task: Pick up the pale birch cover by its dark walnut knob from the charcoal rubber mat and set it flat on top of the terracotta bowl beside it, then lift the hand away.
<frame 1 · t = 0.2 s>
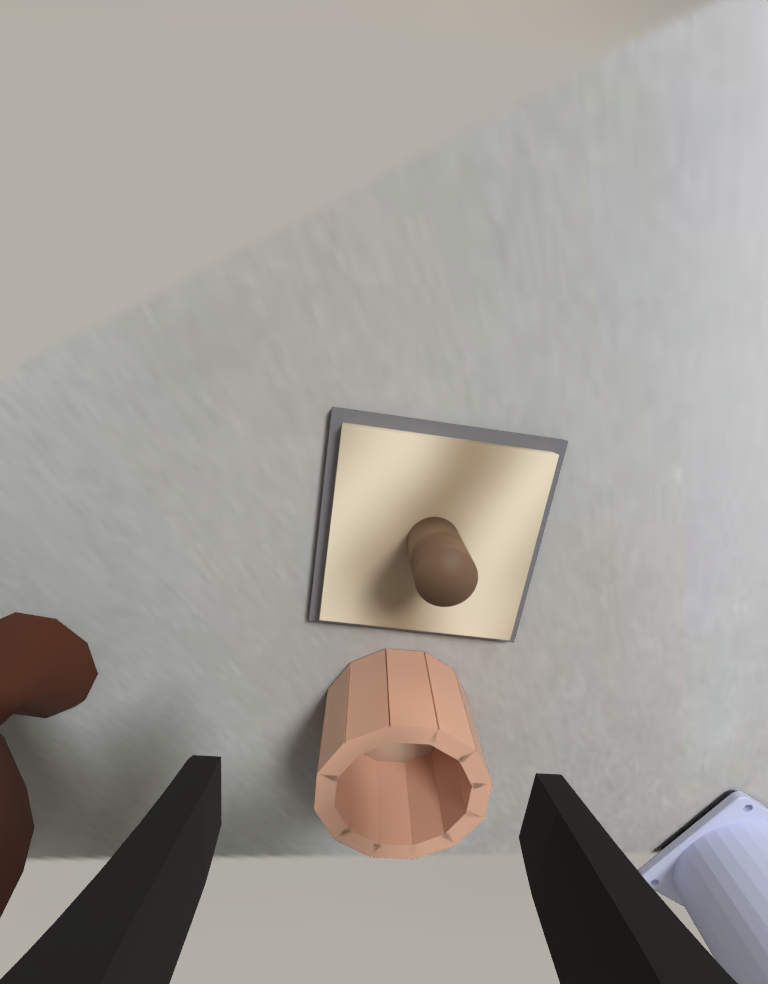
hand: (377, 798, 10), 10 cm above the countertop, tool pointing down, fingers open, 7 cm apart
ice cream bowl: (39, 661, 20), on the countertop
cover: (431, 536, 18), resting on mat
bowl: (396, 709, 21), on the countertop
mat: (429, 532, 19), on the countertop
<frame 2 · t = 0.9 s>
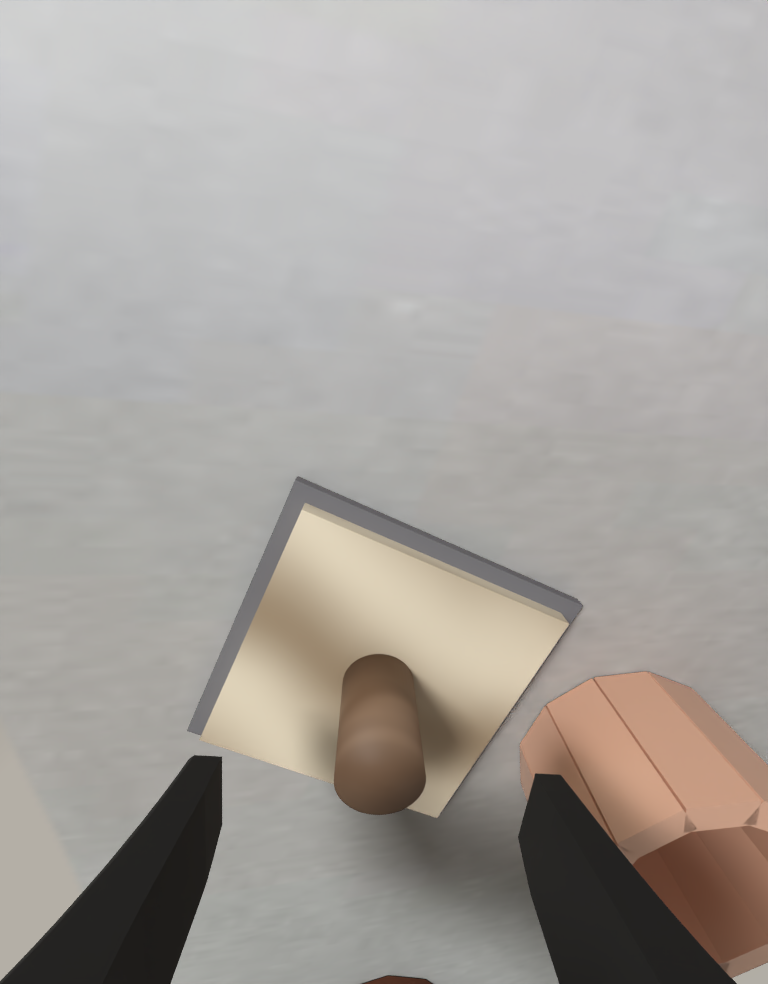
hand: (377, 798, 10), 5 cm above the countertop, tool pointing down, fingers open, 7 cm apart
cover: (377, 670, 14), resting on mat
bowl: (615, 753, 16), on the countertop
mat: (377, 662, 14), on the countertop
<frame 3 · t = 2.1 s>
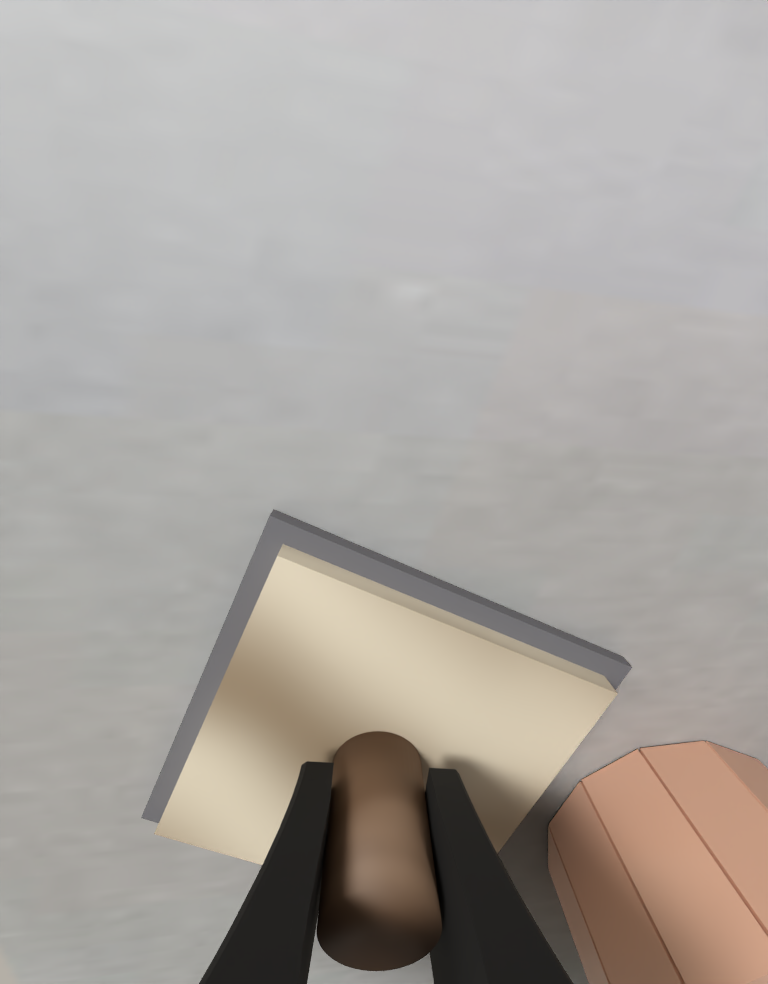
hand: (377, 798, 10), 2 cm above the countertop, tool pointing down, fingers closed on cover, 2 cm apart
cover: (376, 745, 11), resting on mat, touching gripper
bowl: (662, 834, 13), on the countertop
mat: (376, 733, 12), on the countertop
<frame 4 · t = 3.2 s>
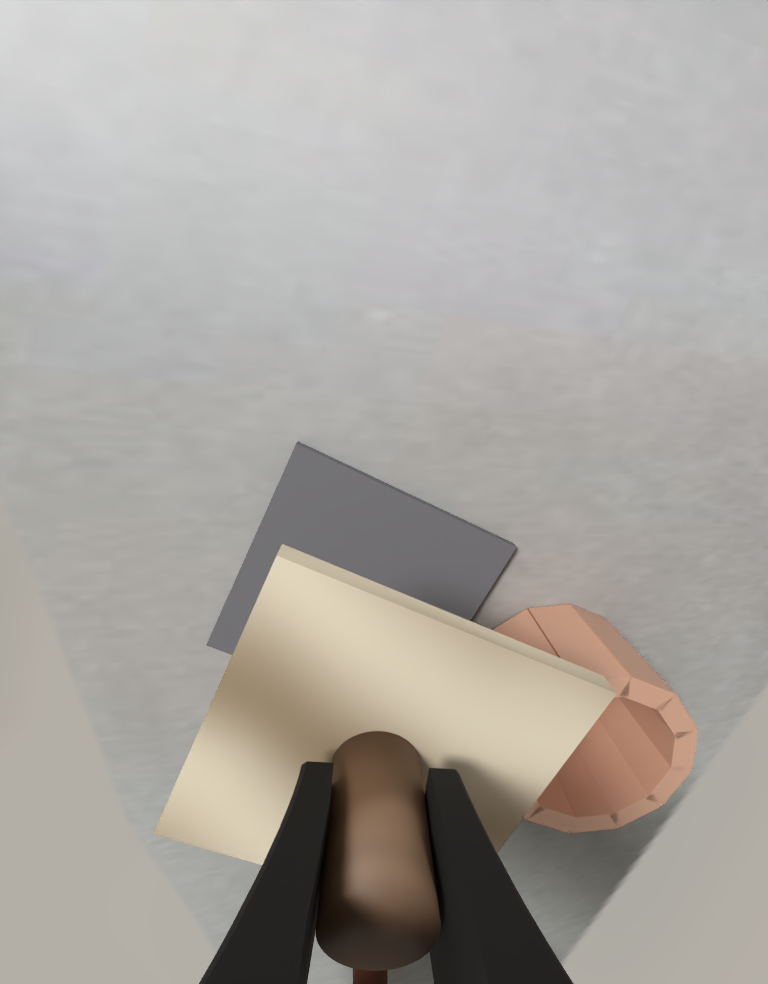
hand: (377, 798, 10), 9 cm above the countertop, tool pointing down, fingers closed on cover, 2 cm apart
ice cream bowl: (370, 899, 24), on the countertop
cover: (375, 745, 11), point 7 cm above the countertop, touching gripper
bowl: (547, 673, 20), on the countertop
mat: (358, 592, 18), on the countertop
when the fingers open (7 cm above the countertop, at t = 4.3 s): cover drops 1 cm, resting on bowl.
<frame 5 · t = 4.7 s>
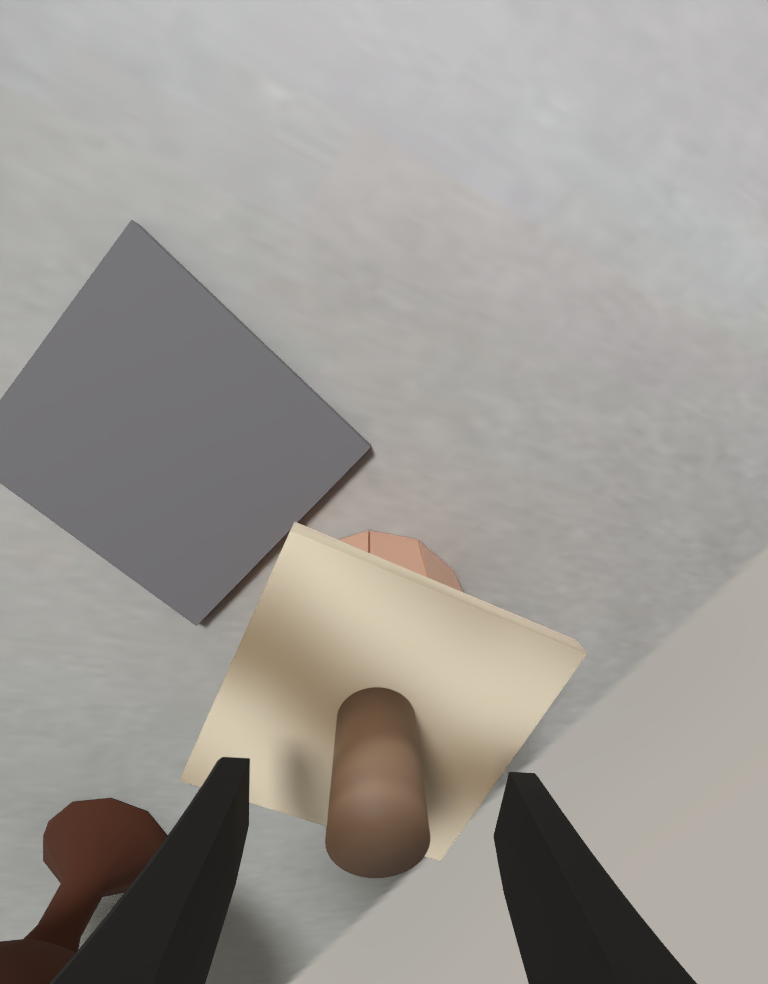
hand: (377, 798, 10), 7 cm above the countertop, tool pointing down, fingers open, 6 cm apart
ice cream bowl: (110, 837, 20), on the countertop
cover: (375, 703, 13), point 4 cm above the countertop, touching bowl
bowl: (374, 615, 17), on the countertop
mat: (173, 448, 15), on the countertop
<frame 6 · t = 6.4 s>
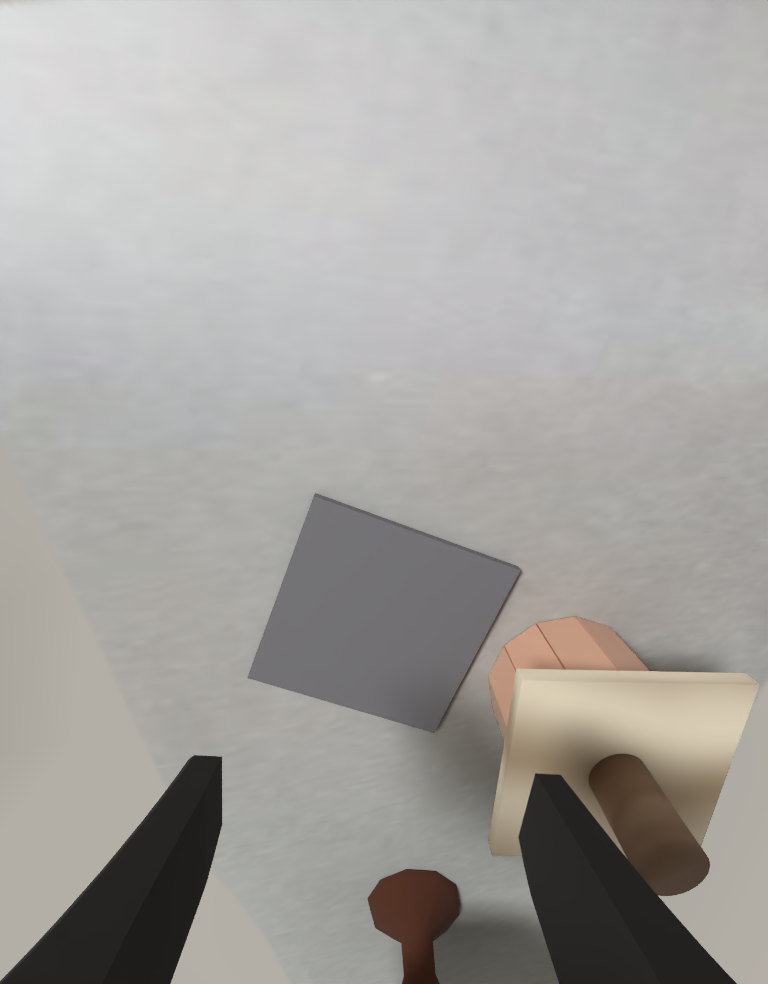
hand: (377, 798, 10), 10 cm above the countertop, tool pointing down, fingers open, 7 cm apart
ice cream bowl: (413, 897, 26), on the countertop
cover: (608, 761, 17), point 4 cm above the countertop, touching bowl
bowl: (560, 680, 21), on the countertop
mat: (379, 620, 20), on the countertop
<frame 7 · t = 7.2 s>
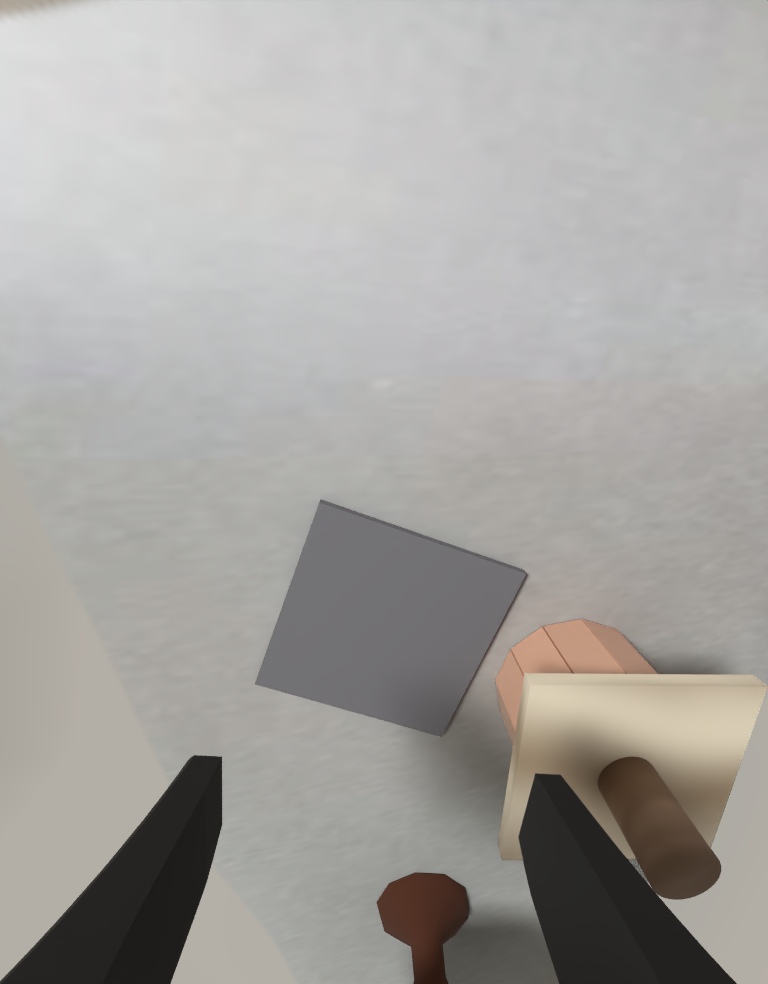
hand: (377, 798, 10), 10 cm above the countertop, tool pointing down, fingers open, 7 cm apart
ice cream bowl: (422, 900, 26), on the countertop
cover: (617, 764, 17), point 4 cm above the countertop, touching bowl
bowl: (567, 682, 21), on the countertop
mat: (386, 625, 20), on the countertop
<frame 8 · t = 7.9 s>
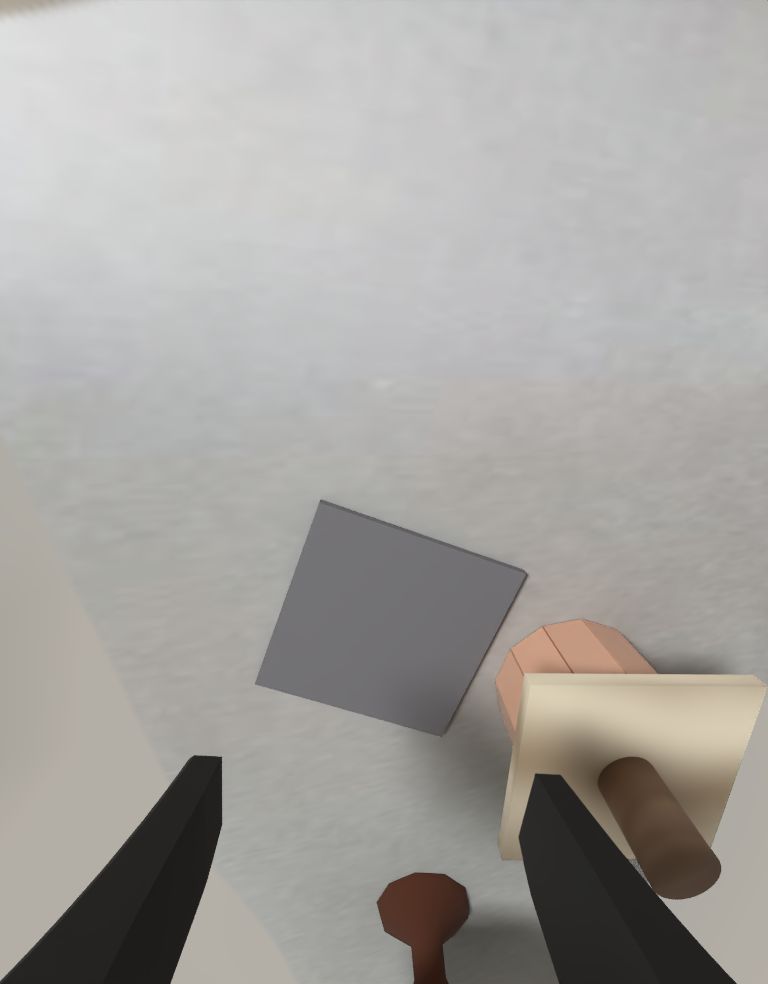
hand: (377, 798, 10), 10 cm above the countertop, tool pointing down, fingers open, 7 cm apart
ice cream bowl: (422, 900, 26), on the countertop
cover: (617, 764, 17), point 4 cm above the countertop, touching bowl
bowl: (567, 682, 21), on the countertop
mat: (386, 625, 20), on the countertop
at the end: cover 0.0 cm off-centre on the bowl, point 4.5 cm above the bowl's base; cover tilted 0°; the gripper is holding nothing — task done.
